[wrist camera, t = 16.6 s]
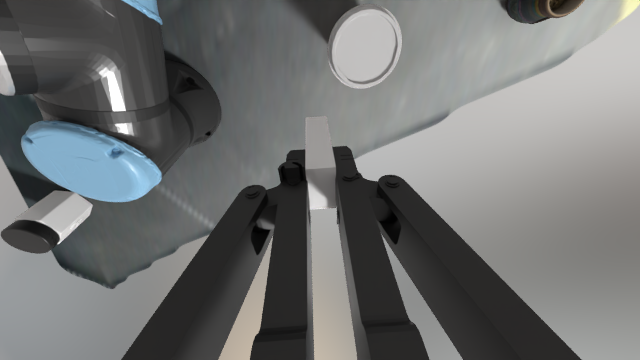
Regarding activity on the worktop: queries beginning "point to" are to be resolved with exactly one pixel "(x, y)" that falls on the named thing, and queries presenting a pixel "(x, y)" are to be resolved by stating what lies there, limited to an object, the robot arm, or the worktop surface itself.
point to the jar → (47, 222)
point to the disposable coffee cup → (364, 46)
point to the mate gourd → (540, 9)
